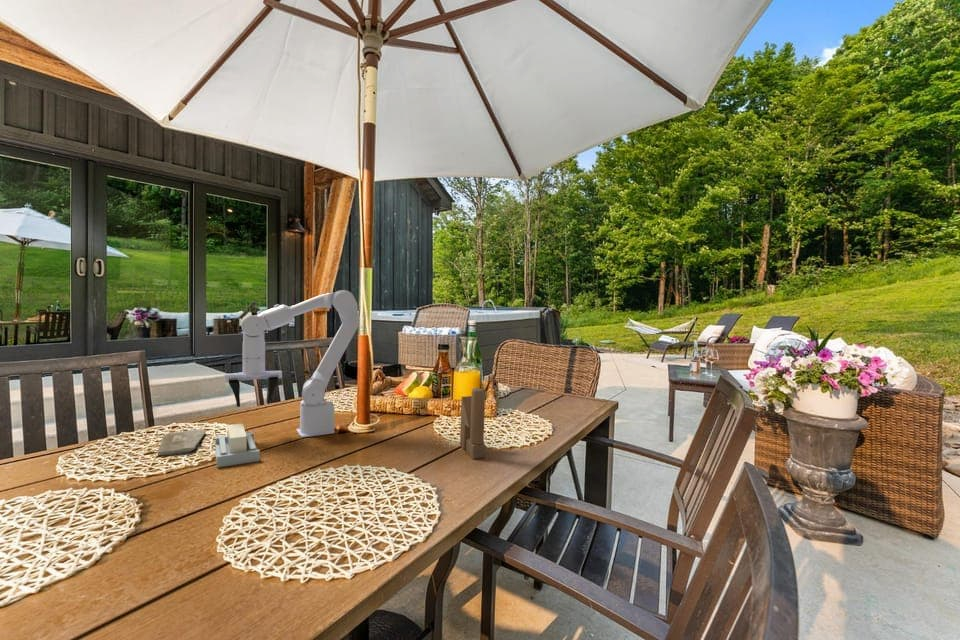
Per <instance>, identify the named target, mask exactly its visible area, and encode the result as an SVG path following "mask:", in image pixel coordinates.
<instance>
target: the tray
mask: <svg viewBox="0 0 960 640" xmlns="http://www.w3.org/2000/svg"><path fill="white" fill-rule="evenodd" d="M245 433H246V436H247V445H246V452H239V453H232V454H229V449H228V435H219V436H217V437H215V442H214V445H215V458H216V468H224V467H228V466H230V467H231V466H235V465H241V464H248V463H254V462H259V461H260V459H261V458H260V457H261V454H260V453H261V450H260V449H258V447H257V445H256V442H255V439H254V437H255V436H254V432H245Z"/></svg>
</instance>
